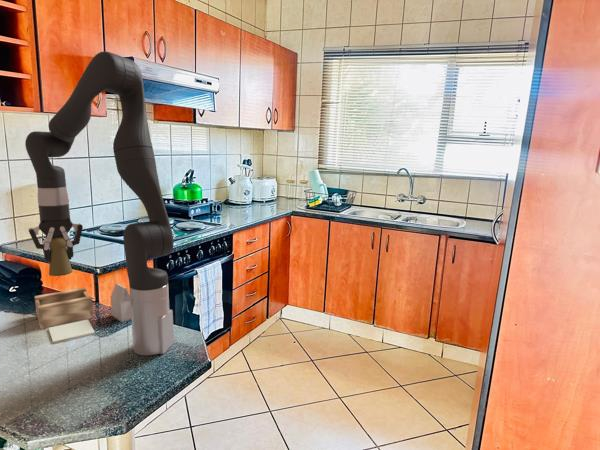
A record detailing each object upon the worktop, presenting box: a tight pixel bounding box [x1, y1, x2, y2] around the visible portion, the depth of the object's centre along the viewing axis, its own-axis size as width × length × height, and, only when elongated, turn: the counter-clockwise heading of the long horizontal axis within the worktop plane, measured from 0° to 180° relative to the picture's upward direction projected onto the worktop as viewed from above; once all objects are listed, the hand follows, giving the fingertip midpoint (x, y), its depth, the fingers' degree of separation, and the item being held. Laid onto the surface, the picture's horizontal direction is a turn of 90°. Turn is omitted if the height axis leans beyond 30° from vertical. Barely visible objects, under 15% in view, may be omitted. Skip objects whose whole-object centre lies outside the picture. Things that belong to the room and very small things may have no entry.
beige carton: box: [110, 283, 132, 323], centre depth 124 cm, size 4×7×10 cm, turn 48°
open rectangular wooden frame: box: [34, 287, 94, 330], centre depth 123 cm, size 14×11×6 cm
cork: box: [48, 237, 73, 277], centre depth 120 cm, size 6×6×11 cm
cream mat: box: [48, 319, 96, 345], centre depth 114 cm, size 10×10×1 cm
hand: (59, 260), depth 120 cm, fingers closed on cork, 4 cm apart
